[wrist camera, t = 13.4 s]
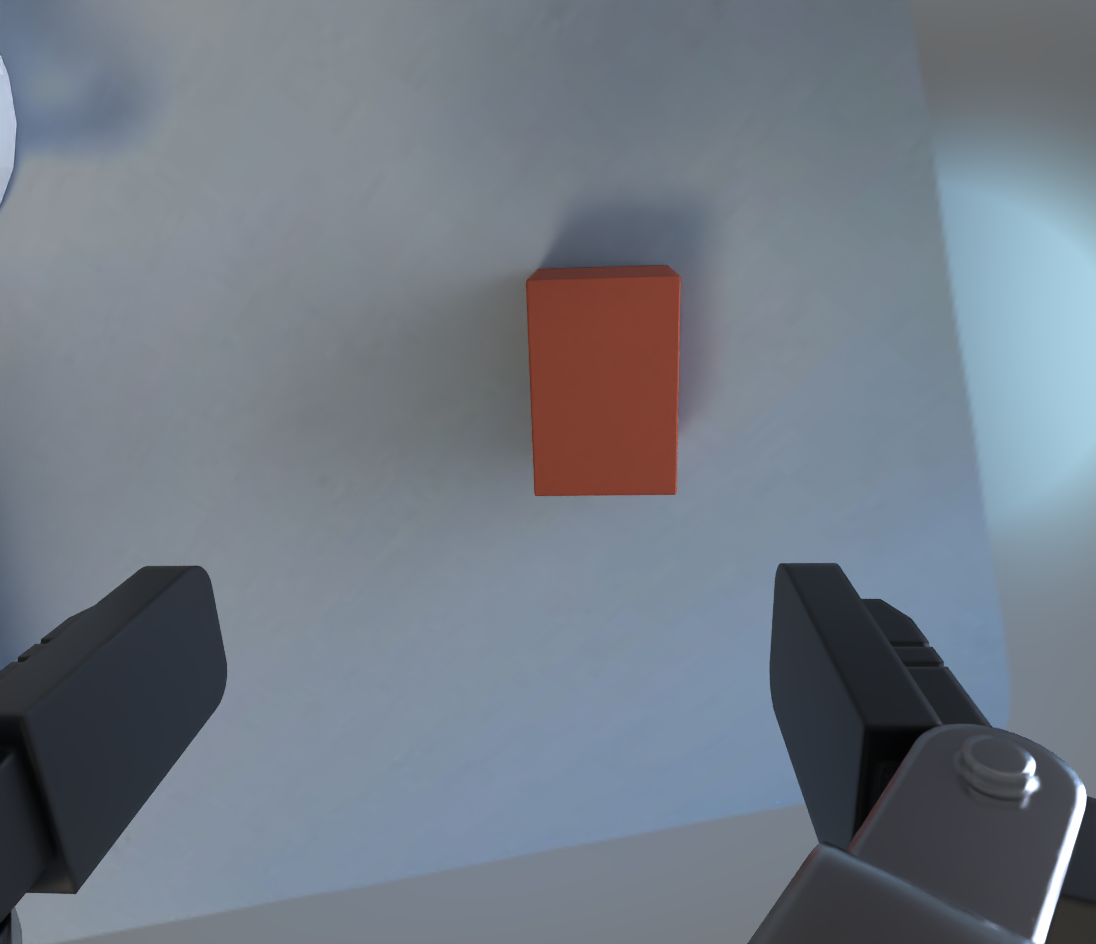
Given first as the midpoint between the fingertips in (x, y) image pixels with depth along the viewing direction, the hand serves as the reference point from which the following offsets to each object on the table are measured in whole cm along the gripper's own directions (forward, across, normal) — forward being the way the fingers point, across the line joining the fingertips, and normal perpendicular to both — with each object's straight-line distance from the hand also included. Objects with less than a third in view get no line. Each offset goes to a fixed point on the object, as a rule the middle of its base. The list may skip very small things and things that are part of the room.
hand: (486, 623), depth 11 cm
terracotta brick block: (+15, -2, -1) cm, 15 cm away
